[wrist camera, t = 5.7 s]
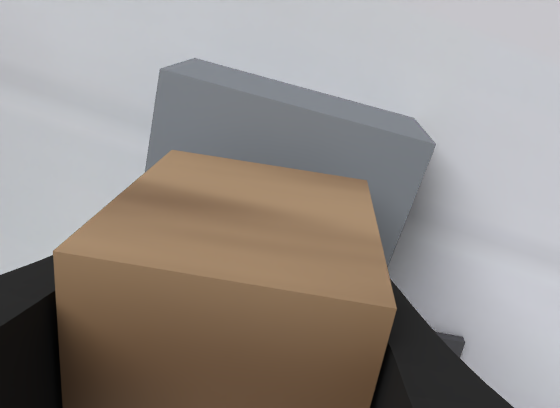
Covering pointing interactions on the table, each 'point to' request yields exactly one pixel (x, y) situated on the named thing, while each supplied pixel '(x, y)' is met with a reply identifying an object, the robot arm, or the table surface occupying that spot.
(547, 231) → the table surface
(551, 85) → the table surface
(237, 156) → the slate base block
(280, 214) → the walnut block
